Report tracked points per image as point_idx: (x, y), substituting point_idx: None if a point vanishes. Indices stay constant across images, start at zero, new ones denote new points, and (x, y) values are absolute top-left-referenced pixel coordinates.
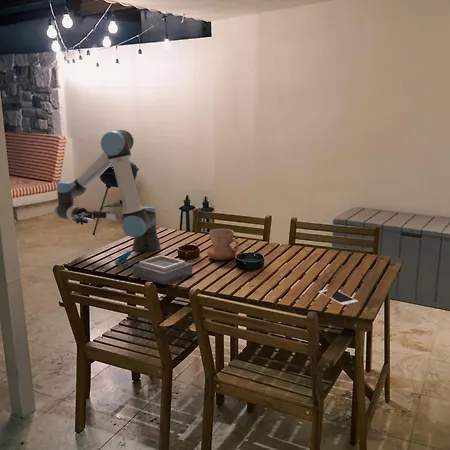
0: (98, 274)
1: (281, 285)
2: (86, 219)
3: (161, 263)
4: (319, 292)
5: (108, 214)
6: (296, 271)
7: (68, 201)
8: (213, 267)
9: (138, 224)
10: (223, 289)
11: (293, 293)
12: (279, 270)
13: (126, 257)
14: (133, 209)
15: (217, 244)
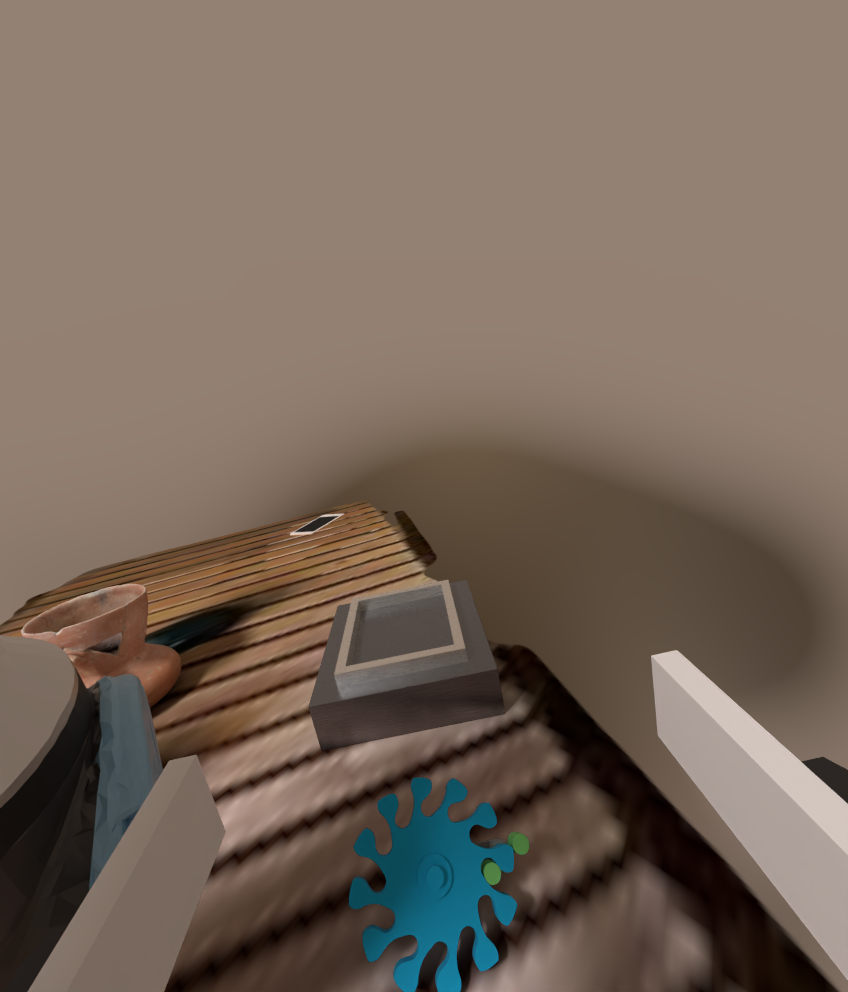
0: (685, 835)
1: (311, 553)
2: (810, 793)
3: (396, 639)
4: (314, 532)
5: (88, 981)
6: (214, 580)
7: None
8: (250, 654)
9: (152, 727)
10: (393, 564)
11: (338, 536)
12: (217, 591)
13: (396, 899)
14: (23, 645)
15: (144, 634)
